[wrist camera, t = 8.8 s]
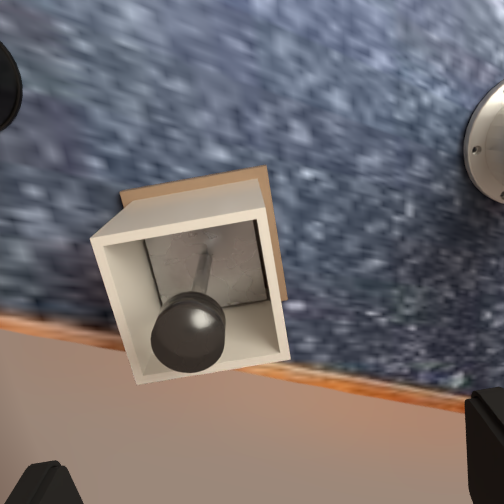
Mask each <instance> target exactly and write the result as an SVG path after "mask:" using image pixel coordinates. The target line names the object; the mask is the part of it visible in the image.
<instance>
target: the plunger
mask: <svg viewBox="0 0 504 504" xmlns="http://www.w3.org/2000/svg"><path fill="white" fill-rule="evenodd" d="M145 242H146V245H147V249H148V253H149V256H150V260H151V264H152V267H153V271H154V275H155V278H156V282H157V286H158V289H159V293H160V297H161V300H162V304H163V306H162V307H161V309H160V312H159V314H158V317H157V319H156V322H155V324H154V327H153V330H152V333H151V339H150V340H151V347H152V350H153V353H154V354H155V356H156V357H157V359H158V360H159V361H160V362H161V363H162V364H163V365H165V366H166V367H168V368H170V369H172V370H174V371H177V372H181V373H196V372H200V371H203V370H206V369H208V368H209V367H211V366H212V365H214V364H215V363H216V362H217V361H218V360H219V358H220V357H221V355H222V353H223V350H224V345H225V330H226V318H225V314H224V311H223V309H222V308H221V307H224V306H229V305H235V304H241V303H247V302H253V301H259V300H265V299H267V297H266V291H265V286H264V280H263V275H262V269H261V263H260V258H259V252H258V247H257V241H256V235H255V230H254V224H253V220H249V221H243V222H237V223H232V224H226V225H220V226H215V227H209V228H203V229H198V230H192V231H186V232H181V233H175V234H169V235H164V236H158V237H152V238H147V239H145Z"/></svg>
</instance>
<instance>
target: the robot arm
mask: <svg viewBox="0 0 504 504" xmlns="http://www.w3.org/2000/svg"><path fill="white" fill-rule="evenodd" d="M503 90H504V80H503V81H501V82H500V83H499V84H498V85H496V86H495V87H494V88H493V89H492V90H491V91H489V93H488V94H487V95H486V96H485V97H484V98H483V100H482V101H481V102H480V103H479V105H478V107H477V108H476V110H475V111H474V113H473V115H472V117H471V119H470V122H469V124H468V127H467V130H466V134H465V139H464V152H463V155H464V161H465V167H466V170H467V172H468V175H469V178H470V179H471V181H472V182H473V184H474V185H475V187H476V188H477V189H478V190H479V191H480V192H482V193H483V194H484V195H485V196H487V197H489V198H491V199H492V200H494V201H497V202H500V203H503V204H504V93H503ZM473 148H474V151H473V152H472V150H473ZM465 422H466V444H467V465H468V486H469V492H470V496H471V499H472V501H473V504H504V389H503V388H501V387H495V388H489V389H483V390H477V391H473V392H472V395H471V399H466V400H465ZM5 504H83V501H82V499H81V497H80V495H79V493H78V491H77V489H76V486H75V484H74V482H73V480H72V478H71V476H70V474H69V471H68V469H67V468H66V467H65V466H61V464H60V463H59V462H58V461H56V460H55V461H48V462H42V463H36V464H31V465H30V466H28V468H27V469H26V470H25V472H24V473H23V475H22V476H21V478H20V479H19V481H18V483H17V484H16V486H15V488H14V489H13V491H12V492H11V494H10V496H9V497H8V499H7V500H6V502H5Z"/></svg>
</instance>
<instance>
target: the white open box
mask: <svg viewBox="0 0 504 504" xmlns="http://www.w3.org/2000/svg"><path fill="white" fill-rule="evenodd" d="M120 196H121V199H122V203H123V206H124V209H123V210H122V211H120V212H119V213H118V214H117V215H116V216H115V217H114V218H112V219H111V220H110V221H109V222H108V223H107V224H106V225H104V226H103V227H102V228H101V229H100V230H99V231H97V232H96V233H95V234H94V235H93V236H92V237H91V238H90V241H91V244H92V247H93V250H94V253H95V257H96V260H97V263H98V266H99V269H100V272H101V275H102V278H103V282H104V285H105V288H106V291H107V294H108V297H109V300H110V304H111V307H112V310H113V313H114V316H115V319H116V322H117V326H118V329H119V332H120V335H121V338H122V341H123V344H124V347H125V351H126V354H127V357H128V360H129V363H130V366H131V369H132V372H133V376H134V379H135V382H136V385H140V384H146V383H152V382H158V381H164V380H170V379H176V378H182V377H188V376H196V375H202V374H208V373H214V372H220V371H226V370H232V369H238V368H242V367H248V366H254V365H260V364H266V363H272V362H278V361H284V360H290V359H291V358H290V352H289V346H288V340H287V334H286V328H285V322H284V316H283V310H282V304H281V301H285V300H288V298H287V292H286V285H285V279H284V273H283V267H282V260H281V254H280V248H279V242H278V235H277V229H276V223H275V217H274V210H273V204H272V198H271V192H270V186H269V179H268V173H267V167H266V165H260V166H255V167H249V168H244V169H238V170H232V171H227V172H221V173H216V174H210V175H205V176H199V177H194V178H188V179H182V180H177V181H171V182H166V183H160V184H155V185H149V186H144V187H138V188H132V189H127V190H122V191H121V192H120ZM249 220H253V224H254V230H255V235H256V241H257V247H258V252H259V258H260V263H261V269H262V275H263V280H264V286H265V291H266V297H267V299H265V300H259V301H253V302H247V303H241V304H235V305H229V306H224V307H221V308H222V309H223V311H224V314H225V318H226V330H225V345H224V350H223V353H222V355H221V357H220V358H219V360H218V361H217V362H216V363H215V364H214V365H212V366H211V367H209V368H208V369H206V370H203V371H200V372H196V373H181V372H177V371H174V370H172V369H170V368H168V367H166V366H165V365H163V364H162V363H161V362H160V361H159V360H158V359H157V357H156V356H155V354H154V353H153V350H152V347H151V340H150V339H151V333H152V330H153V327H154V324H155V322H156V319H157V317H158V314H159V312H160V309H161V307H162V306H163V304H162V300H161V297H160V293H159V289H158V286H157V282H156V278H155V275H154V271H153V267H152V264H151V260H150V256H149V253H148V249H147V245H146V242H145V239H147V238H152V237H158V236H164V235H169V234H175V233H181V232H186V231H192V230H198V229H203V228H209V227H215V226H220V225H226V224H232V223H237V222H243V221H249Z"/></svg>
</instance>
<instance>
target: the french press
mask: <svg viewBox="0 0 504 504" xmlns="http://www.w3.org/2000/svg"><path fill="white" fill-rule="evenodd" d="M22 96H23V95H22V80H21V75H20V72H19V69H18V67H17V64H16V62H15V60H14V59H13V57H12V55H11V53H10V52H9V51H8V49H7V48H6V47H5V46H4V45H3V43H2V42H1V41H0V131H2V130H3V129H5V128H6V127H7V126H8V125H9V124H11V122H12V121H13V120H14V118H15V117H16V116H17V113H18V111H19V109H20V107H21V101H22Z"/></svg>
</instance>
